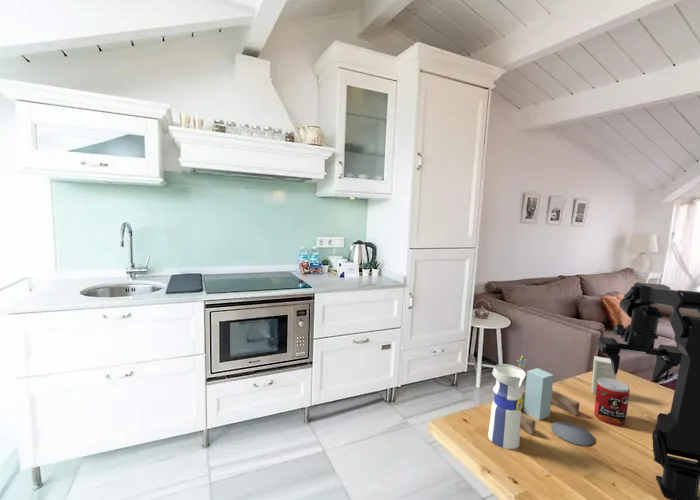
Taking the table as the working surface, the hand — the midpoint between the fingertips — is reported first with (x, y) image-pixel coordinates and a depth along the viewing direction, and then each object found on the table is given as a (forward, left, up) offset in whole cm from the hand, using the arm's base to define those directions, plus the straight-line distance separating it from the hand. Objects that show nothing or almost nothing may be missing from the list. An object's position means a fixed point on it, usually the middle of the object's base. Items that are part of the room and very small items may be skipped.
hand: (634, 376), depth 99 cm
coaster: (-15, +15, -14) cm, 26 cm away
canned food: (0, +5, -15) cm, 15 cm away
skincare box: (+17, +5, -15) cm, 23 cm away
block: (-10, +24, -14) cm, 29 cm away
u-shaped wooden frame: (-10, +23, -14) cm, 29 cm away
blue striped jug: (-28, +31, -15) cm, 44 cm away
